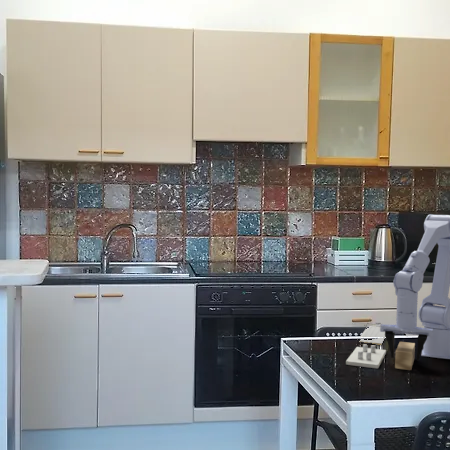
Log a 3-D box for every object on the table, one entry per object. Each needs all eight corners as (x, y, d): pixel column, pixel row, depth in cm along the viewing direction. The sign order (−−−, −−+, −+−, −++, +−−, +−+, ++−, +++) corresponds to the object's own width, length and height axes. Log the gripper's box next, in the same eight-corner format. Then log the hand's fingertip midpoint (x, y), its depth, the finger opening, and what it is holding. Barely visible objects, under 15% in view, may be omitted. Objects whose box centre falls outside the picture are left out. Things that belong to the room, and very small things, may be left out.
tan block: (414, 359, 172) (414, 343, 172) (411, 370, 159) (411, 353, 159) (399, 357, 174) (399, 341, 173) (394, 368, 161) (395, 351, 160)
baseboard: (351, 344, 192) (381, 348, 188) (351, 336, 192) (382, 339, 188) (363, 328, 220) (390, 331, 216) (363, 321, 220) (390, 324, 216)
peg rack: (385, 353, 178) (386, 343, 178) (378, 368, 159) (378, 357, 159) (356, 349, 181) (357, 340, 181) (345, 364, 163) (346, 354, 163)
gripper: (379, 312, 165) (378, 358, 165) (432, 316, 160) (430, 364, 160) (382, 308, 171) (380, 353, 172) (433, 312, 166) (431, 359, 166)
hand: (405, 358), depth 166 cm, fingers open, 6 cm apart
